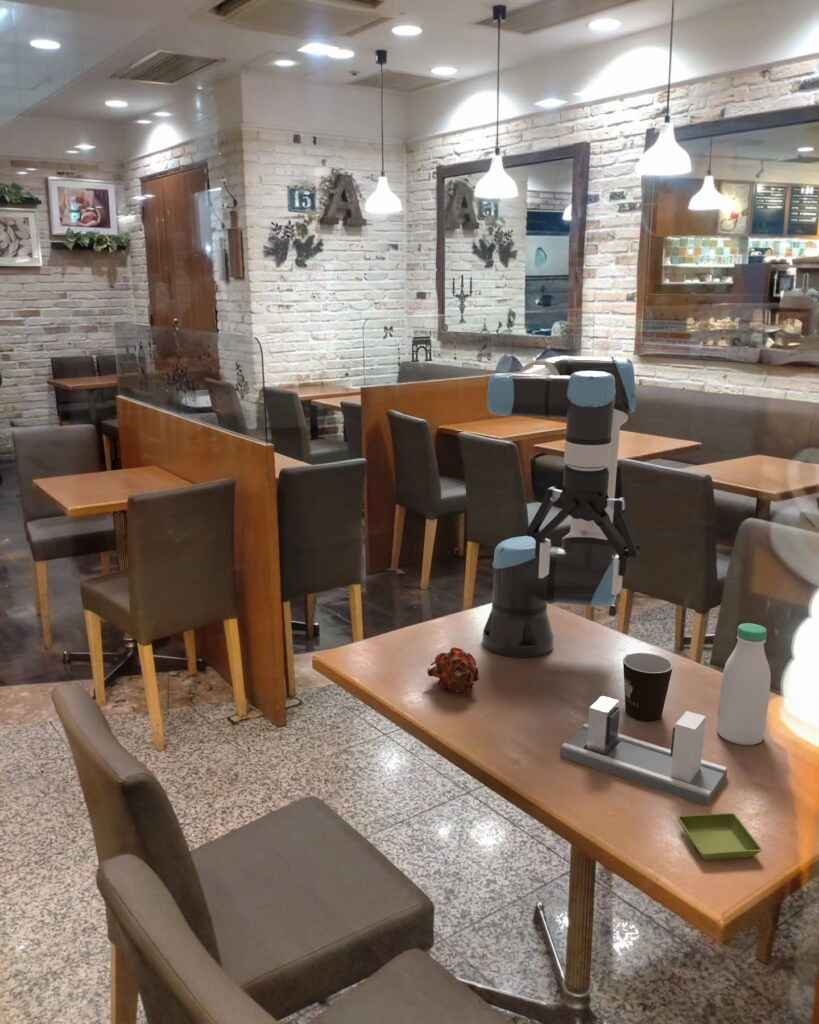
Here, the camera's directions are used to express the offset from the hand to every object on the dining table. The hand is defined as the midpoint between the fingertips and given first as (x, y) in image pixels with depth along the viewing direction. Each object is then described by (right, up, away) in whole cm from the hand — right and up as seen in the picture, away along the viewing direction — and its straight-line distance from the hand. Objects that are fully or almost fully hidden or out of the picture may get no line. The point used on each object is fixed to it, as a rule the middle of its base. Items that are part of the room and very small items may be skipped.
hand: (579, 584), depth 153 cm
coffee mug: (+13, -24, +8) cm, 28 cm away
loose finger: (+2, -27, -7) cm, 29 cm away
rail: (+8, -29, -11) cm, 32 cm away
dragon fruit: (-21, -21, +16) cm, 34 cm away
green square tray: (+13, -34, -30) cm, 48 cm away
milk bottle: (+28, -26, -1) cm, 38 cm away
